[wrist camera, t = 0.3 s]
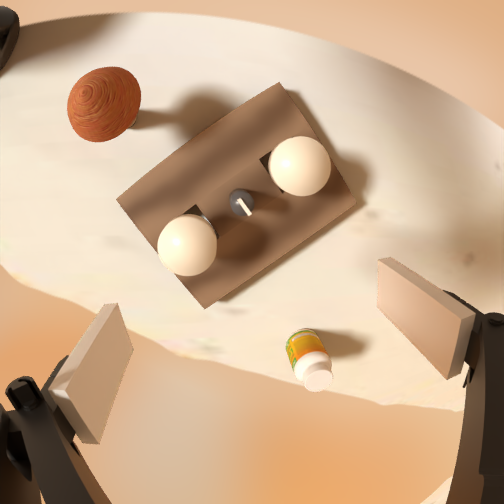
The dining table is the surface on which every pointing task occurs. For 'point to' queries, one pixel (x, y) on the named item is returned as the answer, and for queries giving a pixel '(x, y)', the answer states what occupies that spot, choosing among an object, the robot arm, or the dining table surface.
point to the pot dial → (241, 202)
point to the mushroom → (104, 103)
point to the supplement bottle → (309, 360)
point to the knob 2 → (299, 166)
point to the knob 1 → (187, 245)
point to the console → (228, 179)
